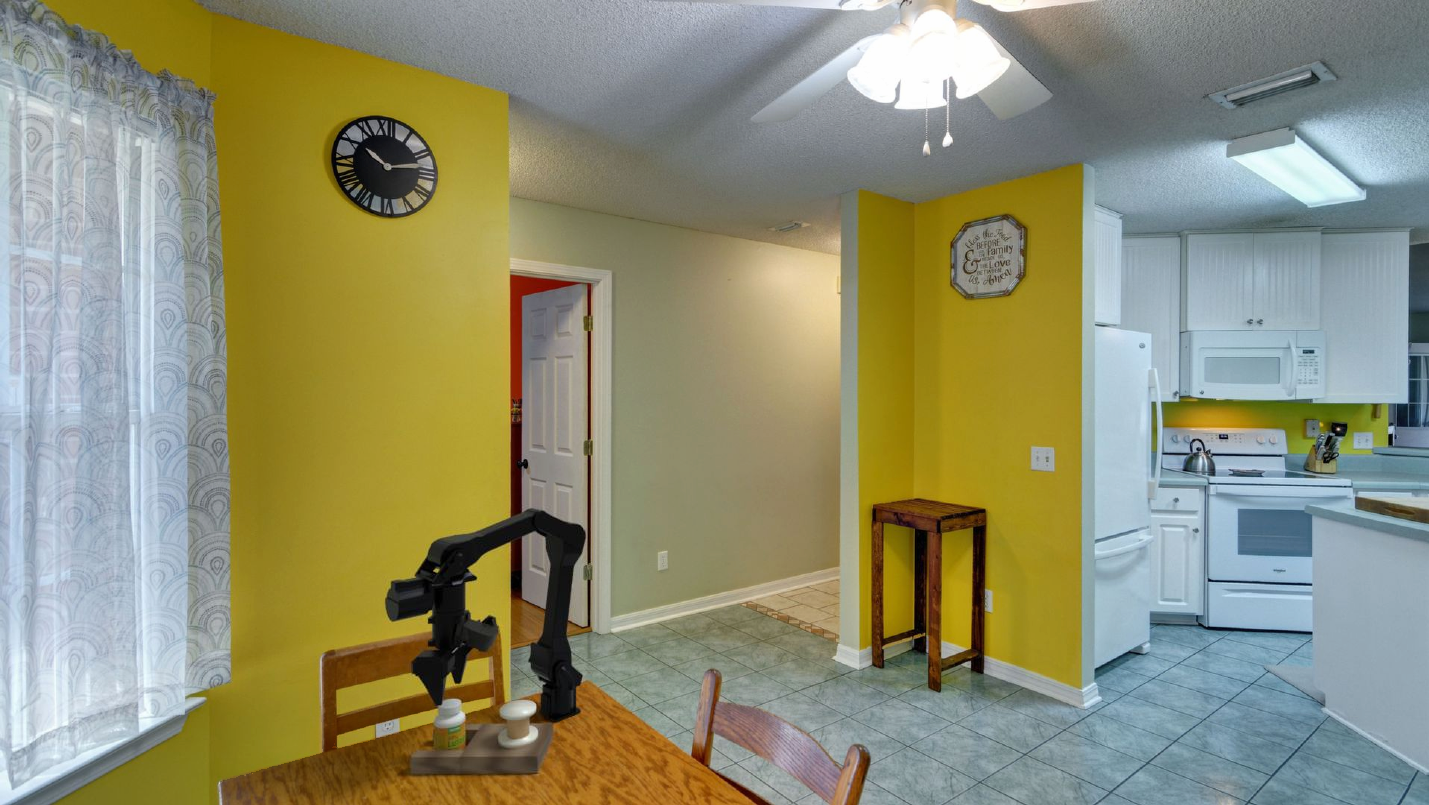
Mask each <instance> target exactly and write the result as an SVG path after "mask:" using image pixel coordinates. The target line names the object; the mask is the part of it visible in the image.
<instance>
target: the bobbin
mask: <svg viewBox="0 0 1429 805" xmlns="http://www.w3.org/2000/svg"><path fill="white" fill-rule="evenodd" d="M536 712H537V704H536V703H535V702H534V701H532V700H529V699H528V700H527V699H517V700H516V699H515V700H513V701H509V702H506V703H504V704H503V705H501V707H500V708H499V716H500V717H501V719H504V720H506V724H507V728H506V729H504V730H503V731H501V732H500V733H499V735H498V744H499V745H500V746H501V747H503V748H506V749H519V748H524V747H527V746H530V745H532V744H533V743H535V742H536V741H537V739H538V730H537V728H536V727H534V726H531V725H530V724H531V723H530V717H532V716H534V714H535V713H536Z"/></svg>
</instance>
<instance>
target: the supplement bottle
mask: <svg viewBox="0 0 1429 805" xmlns="http://www.w3.org/2000/svg"><path fill="white" fill-rule="evenodd" d="M437 713H438V714H437V715H436V716H435V718H434V719H433V730H434V746H433V750H465V749H466V746H465V724H466V713H465V712H464V711H462V700H460V699H458V698H448V699H443V704H442V705H441V706H437Z"/></svg>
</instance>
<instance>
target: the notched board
mask: <svg viewBox="0 0 1429 805" xmlns="http://www.w3.org/2000/svg"><path fill="white" fill-rule="evenodd" d="M530 725H531V726H534V727H536V728H537V730H538V739H537V741H536V742H535V743H533V744H532V745H530V746H527V747H524V748H519V749H506V748H503V747H501V746H500V745H499V744H498V735H499V733H500V732H501V731H503V730H504V729H506V728H507V723H465V750H434V749H433V750H432V749H431V750H429V749H428V750H415V751H414V752H413V754H412V755H410V775H486V774H487V775H489V774H490V775H494V774H495V775H496V774H497V775H500V774H501V775H502V774H506V775H508V774H509V775H511V774H512V775H514V774H517V775H518V774H521V775H522V774H523V775H525V774H538V773H539V771H540V769H541V766H542V765H543V762H544V760H545V758H546V756H547V753H548V751H549V749H550V747H551V744H552V743H553V740H554V722H552V723H530ZM432 730H433V732H432V746H433V747H434V729H432Z"/></svg>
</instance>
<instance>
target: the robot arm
mask: <svg viewBox="0 0 1429 805" xmlns="http://www.w3.org/2000/svg"><path fill="white" fill-rule="evenodd" d="M534 532H535V533H537V535H540V536H541V537H543V538H544V539H545V550H546V554H547V557H548V561H549V575H548V581H547V582H548V585H547V592H546V600H545V610H544V616H543V618H544V619H543V627H542V634H541V636H540V637H539V639H538V640H537V642H536V641H534V642H531V643H530V646H529V648H530V655H529V658H528V660H527V662H528V663H529V664H530V669H531V671H532V672H533V674H534V675H536V676H537V679H538V681H540V682H543V684H542V693H540V708H539V709H538V710H537V713H538V714H540V715H541V716H544V717H546V718H547V720H550V721H551V722H552V723H556V722H559V721H562V720H564V719H567V718H569V717H572V716H574V715H577V714H579V713H581V710H582V709H580V708H579V707H577V687H580V686H581V685H582V681H583V676H584V675H583V673H581V672H580V671H579V670H577V669H576V668H575V667H574V666H573V656H572V654H573V653H572V648H571V645H570V642H569V639H568V626H569V616H570V608H571V599H572V591H573V590H572V589H573V588H572V587H573V582H574V581H573V580H574V571H575V570H574V569H575V565H576V564H577V562H578V561H579V559H580V557H581V556H582V555H583V551H584V549H585V548H584V547H585V543H586V540H587V539H586V538H587V534H586V530H585V528H584V527H583V525H581V524H579V523H576V522H570V521H565V520H562V519H560V518H558V517H556V516H554V515H552V514H550V513H548V512H547V511H545V510H543V509H539V508H534V507H530V508H528V509H527V508H526V510H524V511H522V512H520V513H518V514H517V513H516V514H515V515H513V516H510V517H509V518H508V517H507V518H506V519H504V520H501V521H499V522H496V523H494V524H491V525H488V526H486V527H483V528H481V529H478V530H476V531H474V532H473V531H472V532H469V533H461V534H454V535H449V536H448V535H447V536H445V537H440V538H437V539H436V540H434V541H432V543H431V544H430V546H429V548H428V551H427V555H426V557H425V559H424V560H423V561H422V563H421V564H420V566H419V567H418V568H417V570H416V572H415V573H414V577H411V578H406V579H394V580H391V581H390V588H388V591H387V593H386V597H385V598H384V605H385V611H386V615H387V617H388V619H389V621H390V622H398V621H403V620H407V619H408V620H409V619H412V618H417V617H421V616H425V615H427V614H428V613H429V612H431V615H430V616H429V617H427V625H431V638H430V639H428V641H427V647H428V648H431V647H432V648H435V649H424V650H422V651H421V652H420V653H419V654H418V655H417V656H415V657H414V658H413V659H412V661H411V662H410V674H411V675H414V676H415V677H418V679H419V680H420V682H421V683H422V684H423V686H424V687H425V689H426V691H427V693H428V694H429V696H430V698H431V700H432V701H433V703H434V706H437V707H438V706H441V705H442V704H443V701H444V697H445V692H446V685H447V684H446V683H447V677H448V676H449V674H451V676H452V680H453V682H454V684H455V685H460V684H462V682H463V678H464V674H465V671H466V666H467V663H468V658H469V655H470V652H471V651H472V650H474V649H475V650H477V651H478V652H480V653H481V652H482V653H487V652H488V651H489V649H491V647H493V645H494V643H495V639H496V637H497V635H498V634H499V632H500V631H499V628H500V627H499V626H497V624H498V623H497V617H496V616H493V615H490V614H489V615H487V616H486V617H485V618H484V619H483V620H482V621H481V619H477V620H475V619H472V614H471V612H470V609H466V605H467V604H466V598H467V597H466V594H467V593H466V592H467V591H466V583H470V582H475V581H477V580H478V576H476V575H475V574H474V573H472V572H471V570H470V569H469V568H471V566H473V565H474V564H476V563H477V562H479V560H480V559H481V557H483V556H484V555H485V554H487V553H489V552H491V551H493V550H495V549H498V548H500V547H502V546H505V545H507V544H509V543H511V542H512V543H513V542H514V541H516V540H518V539H520V538H523V537H525V536H528V535H529V534H531V533H534ZM435 570H438V572H436V571H435Z"/></svg>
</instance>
